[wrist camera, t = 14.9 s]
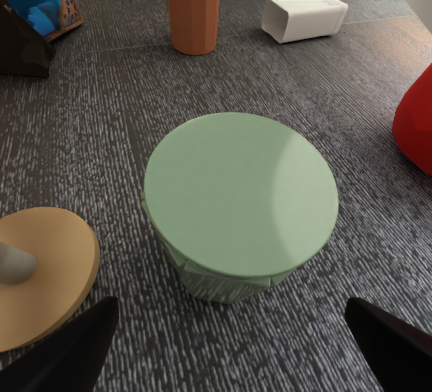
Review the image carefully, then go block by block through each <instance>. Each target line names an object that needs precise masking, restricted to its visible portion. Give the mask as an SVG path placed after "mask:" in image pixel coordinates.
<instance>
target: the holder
mask: <svg viewBox="0 0 432 392" xmlns="http://www.w3.org/2000/svg"><path fill="white" fill-rule="evenodd" d="M99 264H100V247H99V243H98V239H97V237H96V234H95V233H94V231H93V230H92V228H91V227H90V226H89V225H88V224H87V223H86V222H85V221H84V220H82V219H81V218H80V217H79V216H77V215H76V214H74V213H72V212H70V211H67V210H65V209H60V208H55V207H37V208H30V209H26V210H22V211H19V212H15V213H13V214H10V215H8V216H5V217H3V218H1V219H0V352H6V351H11V350H15V349H19V348H22V347H25V346H28V345H30V344H32V343H34V342H36V341H38V340H41V339H42V338H44V337H45V336H47V335H49V334H50V333H52V332H53V331H55V330H56V329H57V328H58V327H60V326H61V325H62V324H63V323H64V322H66V321H67V320H68V319H69V318H70V317H71V316H72V315H73V314H74V312H75V311H76V310H77V309H78V308H79V307H80V305H81V304H82V303H83V301H84V300H85V298H86V297H87V295H88V293H89V292H90V290H91V288H92V286H93V284H94V282H95V279H96V276H97V273H98V269H99Z"/></svg>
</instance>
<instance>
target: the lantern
mask: <svg viewBox="0 0 432 392" xmlns="http://www.w3.org/2000/svg"><path fill="white" fill-rule="evenodd" d="M83 23H84V20H83V18H82V15H81V12H80V10H79V7H78V5H77V2H76V0H0V74H19V75H29V76H39V77H48V76H49V73H48V71H49V68H50V64H51V61H52V60H53V59H54V57H55V54H56V50H55V48H54V47H53V46H52V45H51V44H50V42H52V41H54V40H56V39H57V38H59V37H61V36H62V35H64V34H65V33H66V34H67V32H69V31H72V30H73V29H74V28H76V27H78V26H80V25H81V24H83Z"/></svg>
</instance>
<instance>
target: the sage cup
mask: <svg viewBox="0 0 432 392" xmlns="http://www.w3.org/2000/svg"><path fill="white" fill-rule="evenodd" d="M141 200H142V203H141V205H142V207H143V209H144V211H145V213H146V215H147V217H148V219H149V220H150V222H151V224H152V226H153V228H154V230H155V232H156V234H157V236H158V238H159V240H160V242H161V244H162V246H163V248H164V250H165V252H166V254H167V256H168V258H169V260H170V261H171V263H172V265H173V267H174V269H175V270H176V272H177V274H178V275H179V277H180V279H181V281H182V282H183V284H184V286H185V287H186V289H187V291H188V293H189V294H190V295H192V296H193V297H194V298H199V299H204V300H209V301H214V302H219V303H224V304H234V303H236V302H238V301H241V300H243V299H246V298H248V297H250V296H253V295H255V294H257V293H260V292H262V291H265V290H267V289H269V288H272V287H274V286H277V285H278V284H279V283H280V282H282V281H283V280H284V279H285V278H286V277H287V276H289V275H290V274H291V273H292V272H293V271H294V270H296V269H297V268H298V267H299V266H301V265H303V264H304V263H306V262H307V261H309V260H310V259H311V258H313V257H314V256H315V255H316V254H317V253H318V252H319V251H320V250H321V249H322V248H323V247H324V245H325V244H326V243H327V242H328V241H329V240H330V239H331V237H330V236H331V235H332V233H333V229H334V227H335V224H336V220H337V216H338V207H339V199H338V191H337V186H336V182H335V179H334V177H333V174H332V172H331V170H330V168H329V166H328V164H327V162H326V161H325V160H324V158H323V157H322V155H321V154H320V153H319V152H318V150H317V149H316V148H315V147H314V146H313V145H312V144H311V143H310V142H309V141H308V140H307V139H305V138H304V137H303V136H301V135H300V134H299V133H297V132H296V131H294V130H292V129H291V128H289V127H287V126H285V125H283V124H281V123H279V122H277V121H274V120H272V119H269V118H266V117H263V116H259V115H254V114H249V113H241V112H221V113H214V114H208V115H204V116H200V117H197V118H194V119H192V120H190V121H187V122H185V123H183V124H181V125H180V126H178V127H177V128H175V129H174V130H172V131H171V132H170V133H169V134H167V135H166V136H165V137H164V138H163V139H162V140H161V141H160V143H159V144H158V145H157V147H156V148H155V149H154V151H153V153H152V155H151V157H150V159H149V162H148V164H147V167H146V171H145V176H144V191H143V194H142V196H141Z"/></svg>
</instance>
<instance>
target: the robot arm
mask: <svg viewBox="0 0 432 392" xmlns="http://www.w3.org/2000/svg"><path fill="white" fill-rule="evenodd" d="M344 317H345V321H346V323H347V325H348V327H349V329H350V331H351V333H352V335H353V337H354V339H355V340H356V342H357V344H358V346H359V348H360V350H361V352H362V354H363V356H364V358H365V360H366V362H367V364H368V365H369V367H370V369H371V370H372V372H373V374H374V375H375V377H376V379H377V380H378V382H379V384H380V385H381V387H382V388H383V390H384V392H432V336H430V335H429V334H427V333H425V332H423V331H421V330H419V329H417V328H416V327H414V326H412V325H410V324H408V323H406V322H405V321H403V320H401V319H399V318H397V317H395V316H393V315H392V314H390V313H388V312H386V311H384V310H382V309H381V308H379V307H377V306H375V305H373V304H371V303H369V302H368V301H366V300H364V299H362V298H359V297H351V298H349V299H348V301H347V305H346V309H345V314H344ZM118 320H119V306H118V298H117V297H116V296H106V297H104V298H102V299H101V300H99V301H98V302H97V303H95V304H94V305H92V306H91V307H90V308H88V309H87V310H85V311H84V312H83V313H81V314H80V315H78V316H77V317H76V318H74V319H73V320H71V321H70V322H68V323H67V324H66V325H64V326H63V327H61V328H60V329H59V330H57V331H56V332H54V333H53V334H52V335H50V336H49V337H47V338H46V339H45V340H43V341H42V342H40V343H39V344H37V345H36V346H35V347H33V348H32V349H30V350H29V351H28V352H26V353H25V354H23V355H22V356H21V357H19V358H18V359H16V360H15V361H14V362H12V363H11V364H9V365H8V366H6V367H5V368H4V369H2V370H1V371H0V392H92V391H93V388H94V386H95V384H96V382H97V379H98V377H99V375H100V372H101V370H102V367H103V365H104V362H105V359H106V356H107V353H108V350H109V347H110V344H111V341H112V338H113V335H114V332H115V329H116V326H117V323H118Z"/></svg>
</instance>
